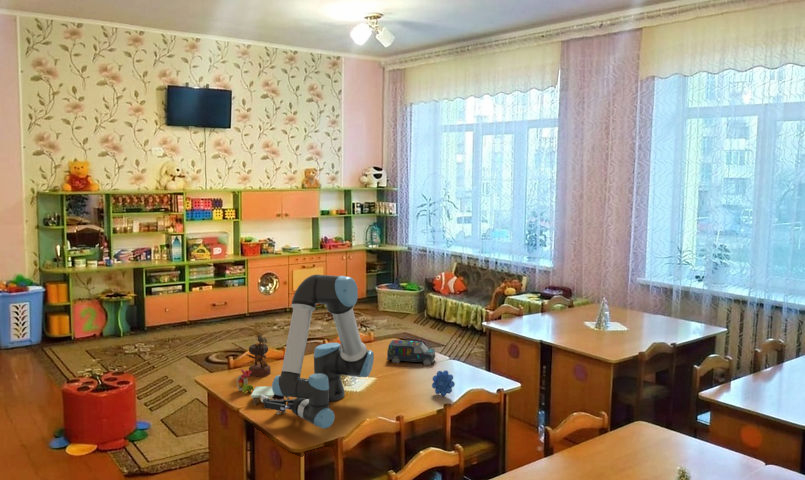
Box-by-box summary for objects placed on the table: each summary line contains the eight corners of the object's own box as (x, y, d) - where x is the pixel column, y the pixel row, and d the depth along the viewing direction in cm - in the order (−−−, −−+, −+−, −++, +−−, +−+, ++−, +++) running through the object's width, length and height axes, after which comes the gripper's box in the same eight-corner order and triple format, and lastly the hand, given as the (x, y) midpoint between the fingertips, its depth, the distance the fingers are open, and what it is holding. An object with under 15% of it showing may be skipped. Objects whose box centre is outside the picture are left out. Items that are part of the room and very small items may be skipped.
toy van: (433, 365, 338) (433, 346, 337) (386, 362, 342) (386, 344, 341) (436, 359, 348) (436, 341, 347) (390, 356, 353) (390, 338, 352)
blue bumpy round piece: (459, 396, 294) (459, 369, 293) (451, 400, 289) (451, 373, 288) (437, 390, 301) (437, 365, 300) (429, 394, 296) (429, 368, 294)
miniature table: (280, 396, 292) (280, 386, 291) (277, 405, 281) (277, 395, 280) (255, 396, 292) (255, 386, 291) (251, 405, 281) (250, 395, 280)
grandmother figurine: (285, 409, 277) (285, 380, 275) (290, 412, 274) (290, 382, 272) (269, 413, 272) (269, 384, 270) (274, 416, 269) (273, 386, 267)
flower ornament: (234, 397, 296) (246, 393, 291) (227, 373, 297) (239, 369, 292) (245, 393, 301) (257, 389, 296) (238, 370, 302) (250, 365, 297)
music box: (278, 373, 323) (275, 334, 319) (261, 381, 314) (257, 341, 310) (257, 367, 332) (253, 329, 328) (240, 374, 323) (236, 335, 319)
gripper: (277, 425, 250) (249, 409, 266) (330, 409, 267) (301, 395, 283) (277, 406, 249) (248, 392, 265) (330, 391, 266) (301, 378, 282)
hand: (275, 393), depth 274 cm, fingers open, 13 cm apart
